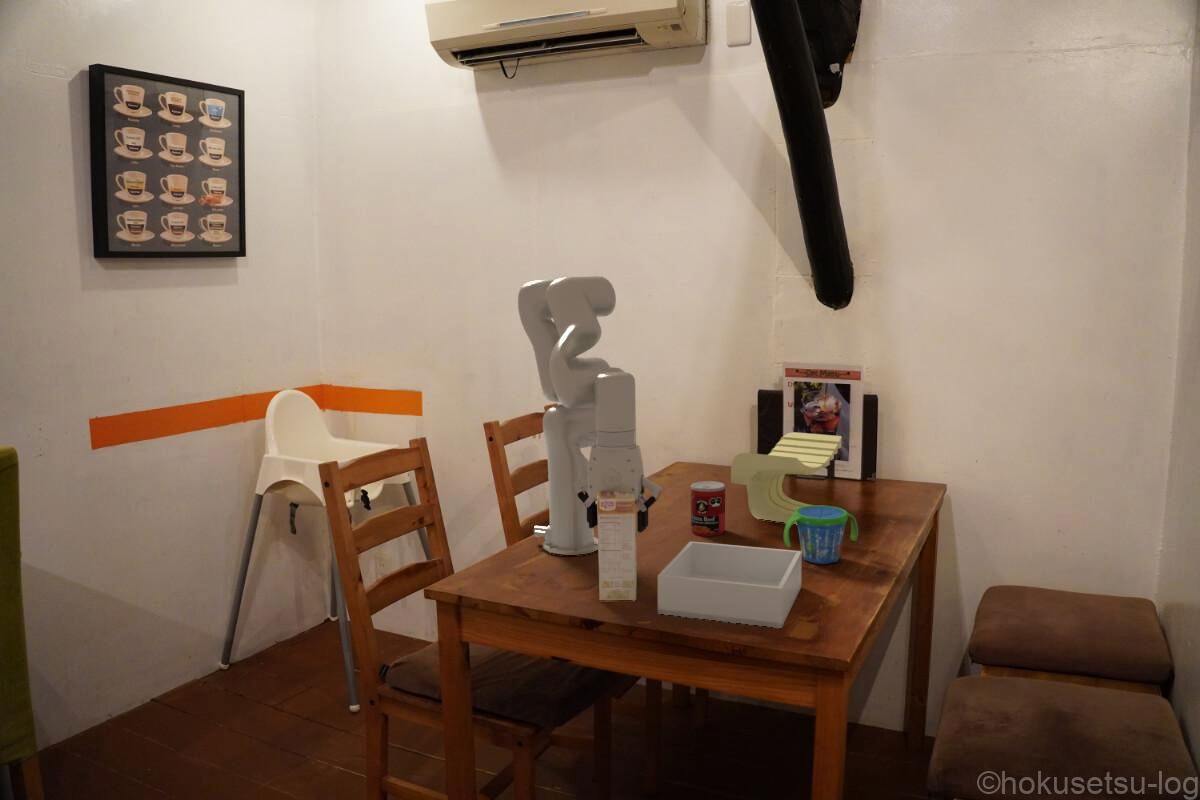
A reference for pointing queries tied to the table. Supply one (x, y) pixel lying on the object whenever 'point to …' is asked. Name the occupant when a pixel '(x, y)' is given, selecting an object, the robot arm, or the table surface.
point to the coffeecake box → (617, 546)
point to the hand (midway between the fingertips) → (617, 528)
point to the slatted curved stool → (781, 472)
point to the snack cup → (821, 532)
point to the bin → (731, 584)
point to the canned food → (707, 508)
